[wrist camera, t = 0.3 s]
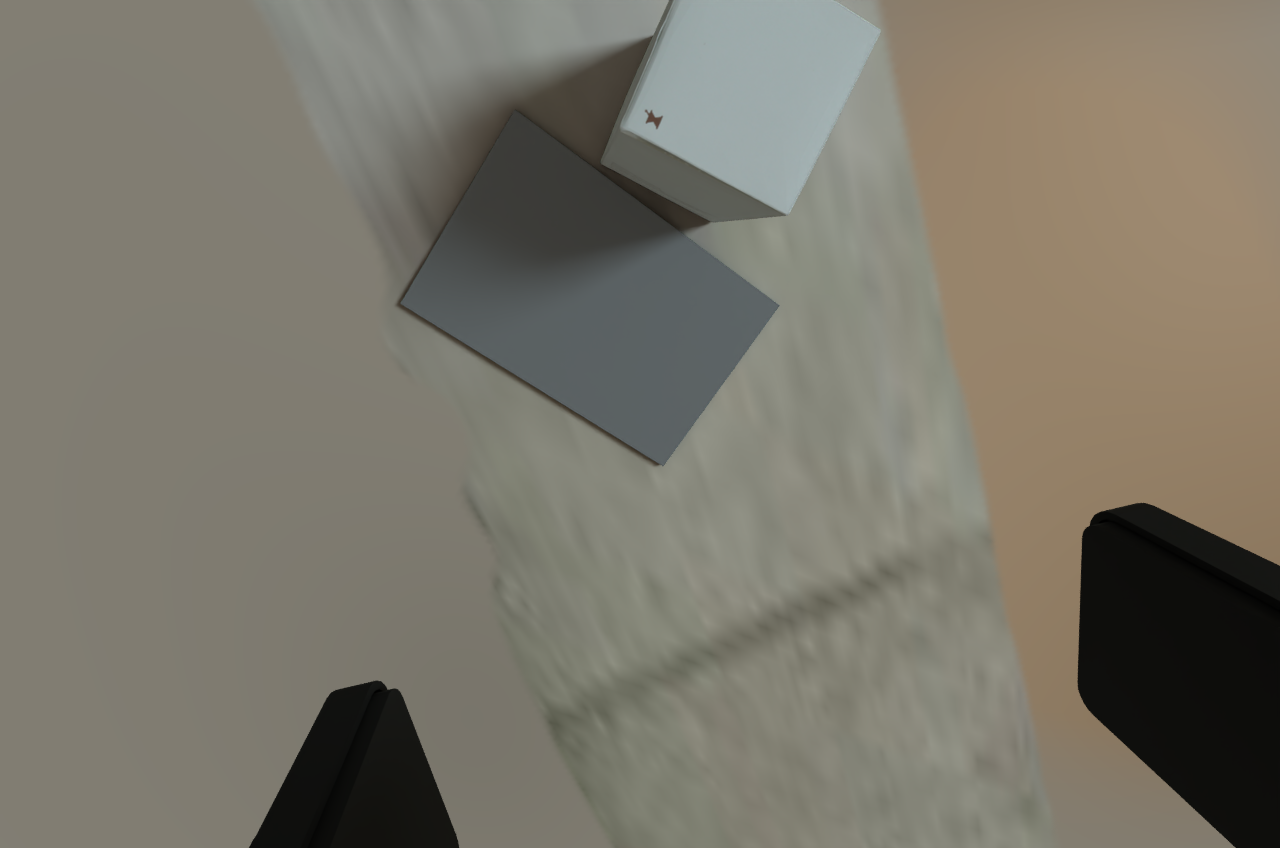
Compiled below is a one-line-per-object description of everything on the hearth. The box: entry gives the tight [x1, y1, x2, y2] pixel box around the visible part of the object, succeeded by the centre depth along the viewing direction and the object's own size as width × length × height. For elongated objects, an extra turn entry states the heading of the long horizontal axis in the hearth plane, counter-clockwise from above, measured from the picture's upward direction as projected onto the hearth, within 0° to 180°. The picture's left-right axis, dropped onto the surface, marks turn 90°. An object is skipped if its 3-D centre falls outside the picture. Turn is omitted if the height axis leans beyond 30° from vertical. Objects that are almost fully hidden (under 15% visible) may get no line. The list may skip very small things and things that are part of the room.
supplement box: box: [600, 0, 880, 222], centre depth 28 cm, size 7×7×13 cm
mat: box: [400, 110, 780, 466], centre depth 36 cm, size 12×18×1 cm, turn 55°
